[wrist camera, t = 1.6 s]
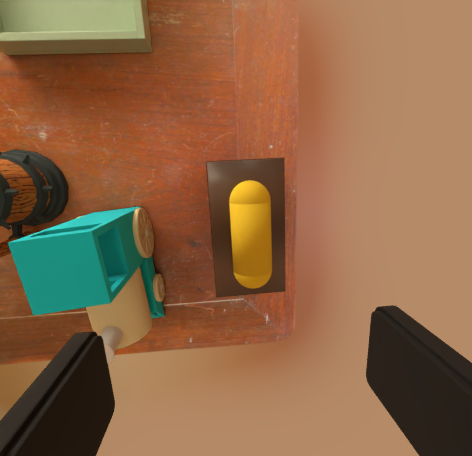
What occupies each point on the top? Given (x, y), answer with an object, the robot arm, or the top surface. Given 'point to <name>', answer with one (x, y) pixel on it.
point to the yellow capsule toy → (251, 233)
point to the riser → (219, 189)
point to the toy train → (95, 273)
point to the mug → (29, 192)
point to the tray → (74, 26)
